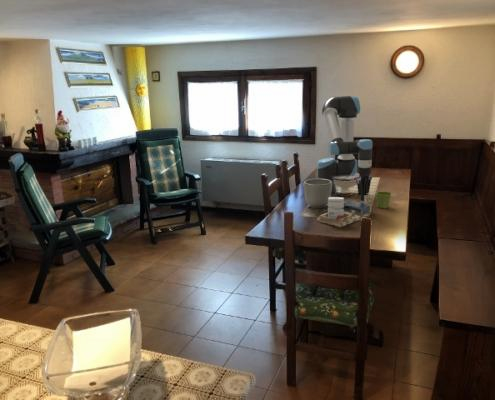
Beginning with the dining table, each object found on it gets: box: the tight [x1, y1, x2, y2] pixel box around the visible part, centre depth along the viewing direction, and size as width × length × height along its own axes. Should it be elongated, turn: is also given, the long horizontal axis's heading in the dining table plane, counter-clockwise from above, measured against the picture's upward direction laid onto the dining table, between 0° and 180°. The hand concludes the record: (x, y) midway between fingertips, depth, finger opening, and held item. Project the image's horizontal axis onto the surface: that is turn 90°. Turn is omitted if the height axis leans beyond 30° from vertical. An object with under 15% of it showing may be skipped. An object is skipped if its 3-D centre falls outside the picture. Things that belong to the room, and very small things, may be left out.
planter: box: [303, 178, 332, 210], centre depth 253 cm, size 17×17×16 cm
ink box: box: [327, 196, 345, 220], centre depth 227 cm, size 9×5×12 cm, turn 76°
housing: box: [344, 199, 371, 215], centre depth 238 cm, size 8×15×4 cm, turn 41°
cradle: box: [316, 208, 371, 228], centre depth 232 cm, size 28×16×4 cm, turn 131°
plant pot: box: [375, 191, 393, 209], centre depth 248 cm, size 9×9×9 cm
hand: (363, 205), depth 244 cm, fingers closed
